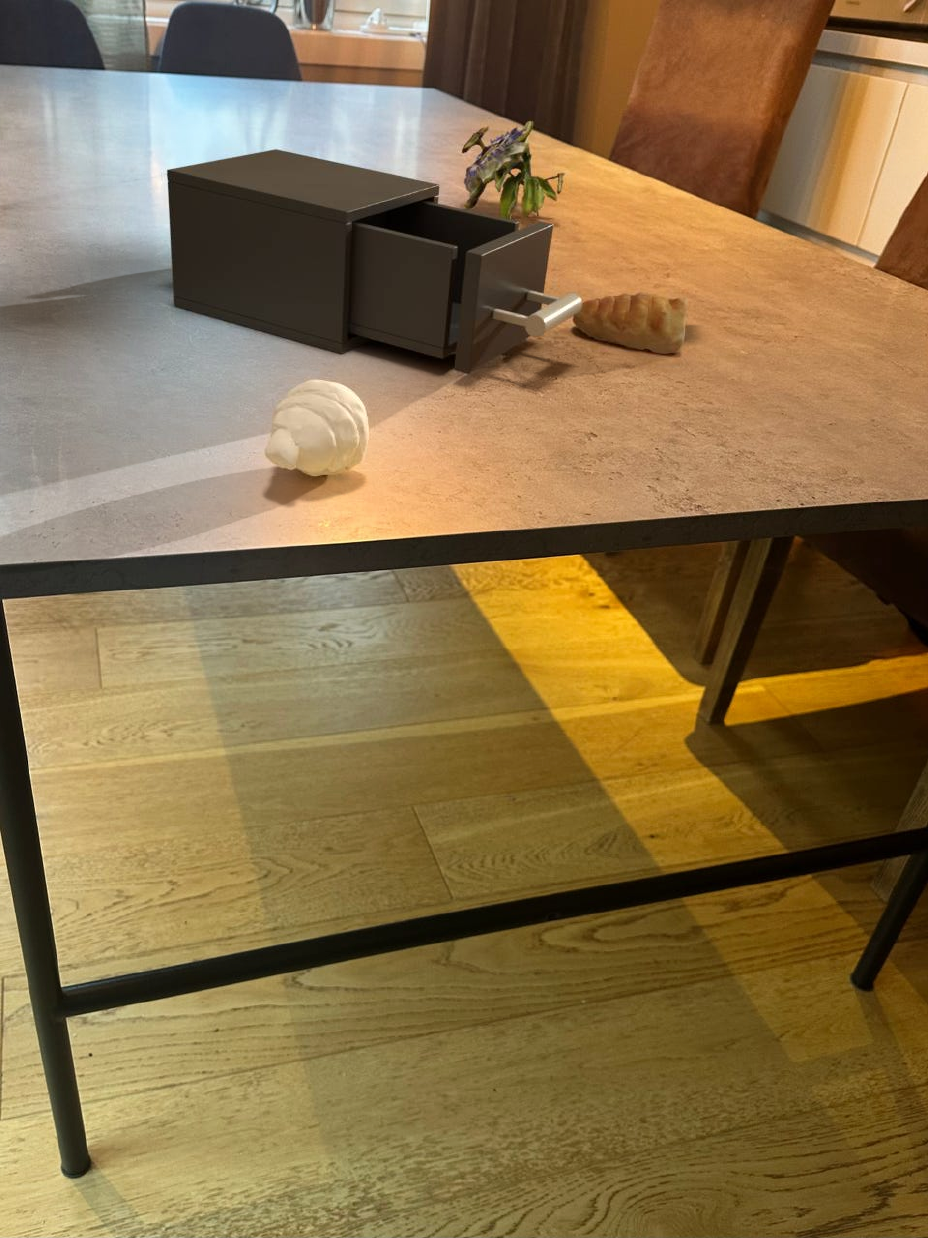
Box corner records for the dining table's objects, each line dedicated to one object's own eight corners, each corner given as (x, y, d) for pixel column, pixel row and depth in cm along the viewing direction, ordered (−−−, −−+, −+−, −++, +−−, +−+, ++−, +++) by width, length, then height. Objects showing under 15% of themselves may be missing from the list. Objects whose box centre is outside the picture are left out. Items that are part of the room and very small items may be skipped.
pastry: (568, 341, 85) (576, 294, 83) (572, 317, 91) (579, 272, 89) (684, 358, 84) (695, 311, 82) (680, 333, 90) (690, 288, 88)
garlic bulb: (236, 487, 58) (234, 394, 55) (296, 450, 63) (297, 363, 60) (320, 514, 57) (323, 421, 54) (375, 474, 61) (380, 386, 58)
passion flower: (467, 256, 124) (451, 155, 124) (557, 244, 125) (542, 144, 125) (475, 219, 113) (458, 109, 112) (574, 206, 113) (557, 97, 113)
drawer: (587, 344, 82) (605, 235, 78) (522, 389, 73) (539, 268, 68) (382, 290, 88) (388, 186, 84) (297, 326, 79) (299, 211, 74)
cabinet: (429, 311, 88) (439, 184, 82) (341, 354, 77) (346, 211, 72) (275, 271, 93) (275, 148, 87) (173, 305, 83) (166, 169, 77)
